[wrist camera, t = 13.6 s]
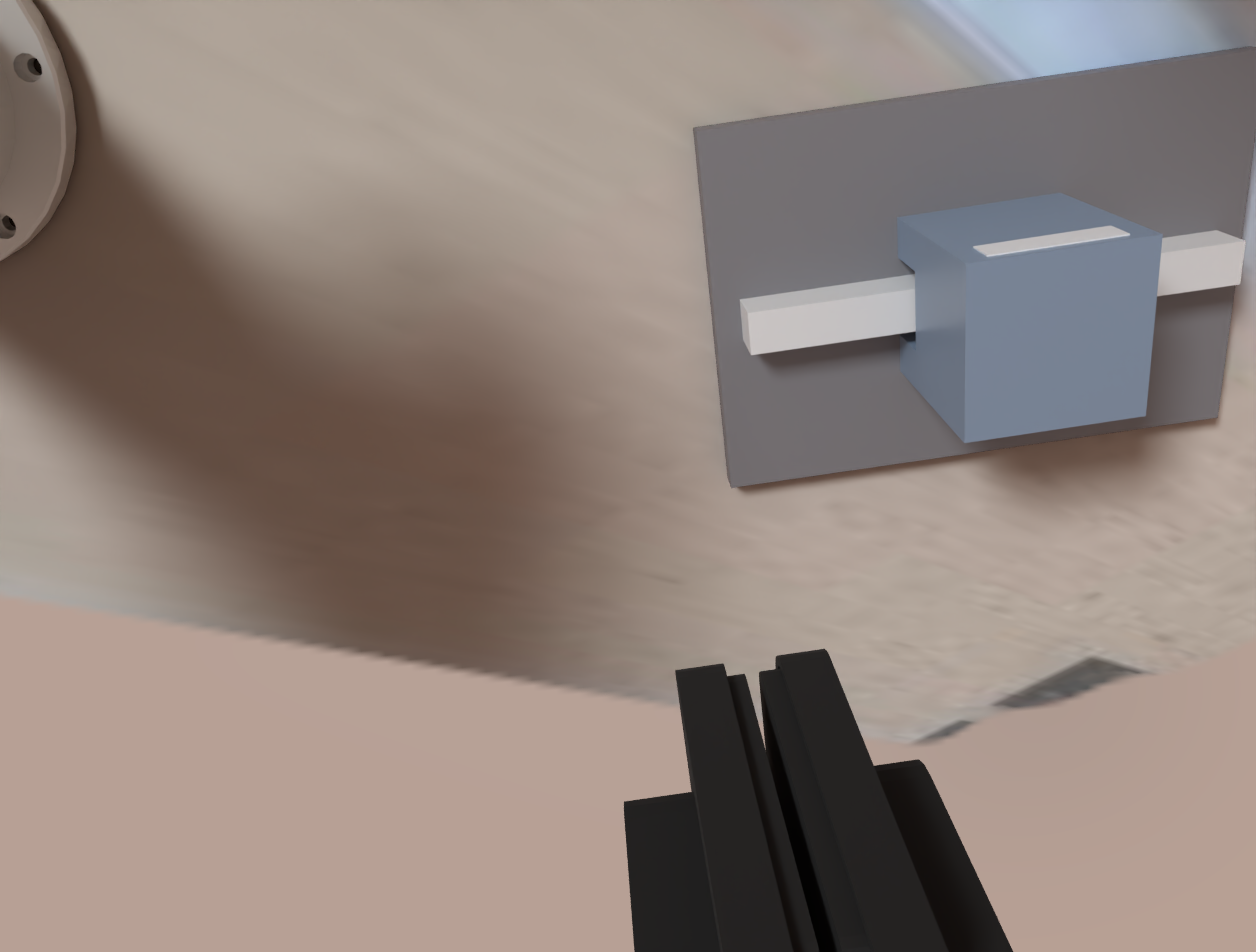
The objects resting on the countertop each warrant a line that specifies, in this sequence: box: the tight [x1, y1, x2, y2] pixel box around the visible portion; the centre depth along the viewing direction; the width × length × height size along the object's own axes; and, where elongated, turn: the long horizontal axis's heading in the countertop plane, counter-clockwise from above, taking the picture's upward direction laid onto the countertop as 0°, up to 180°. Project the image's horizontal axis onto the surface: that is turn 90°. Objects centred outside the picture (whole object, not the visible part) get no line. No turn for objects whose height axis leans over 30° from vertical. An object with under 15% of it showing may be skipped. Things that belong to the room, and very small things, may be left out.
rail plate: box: [693, 47, 1256, 488], centre depth 38 cm, size 20×14×3 cm
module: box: [897, 193, 1163, 443], centre depth 35 cm, size 6×6×7 cm
